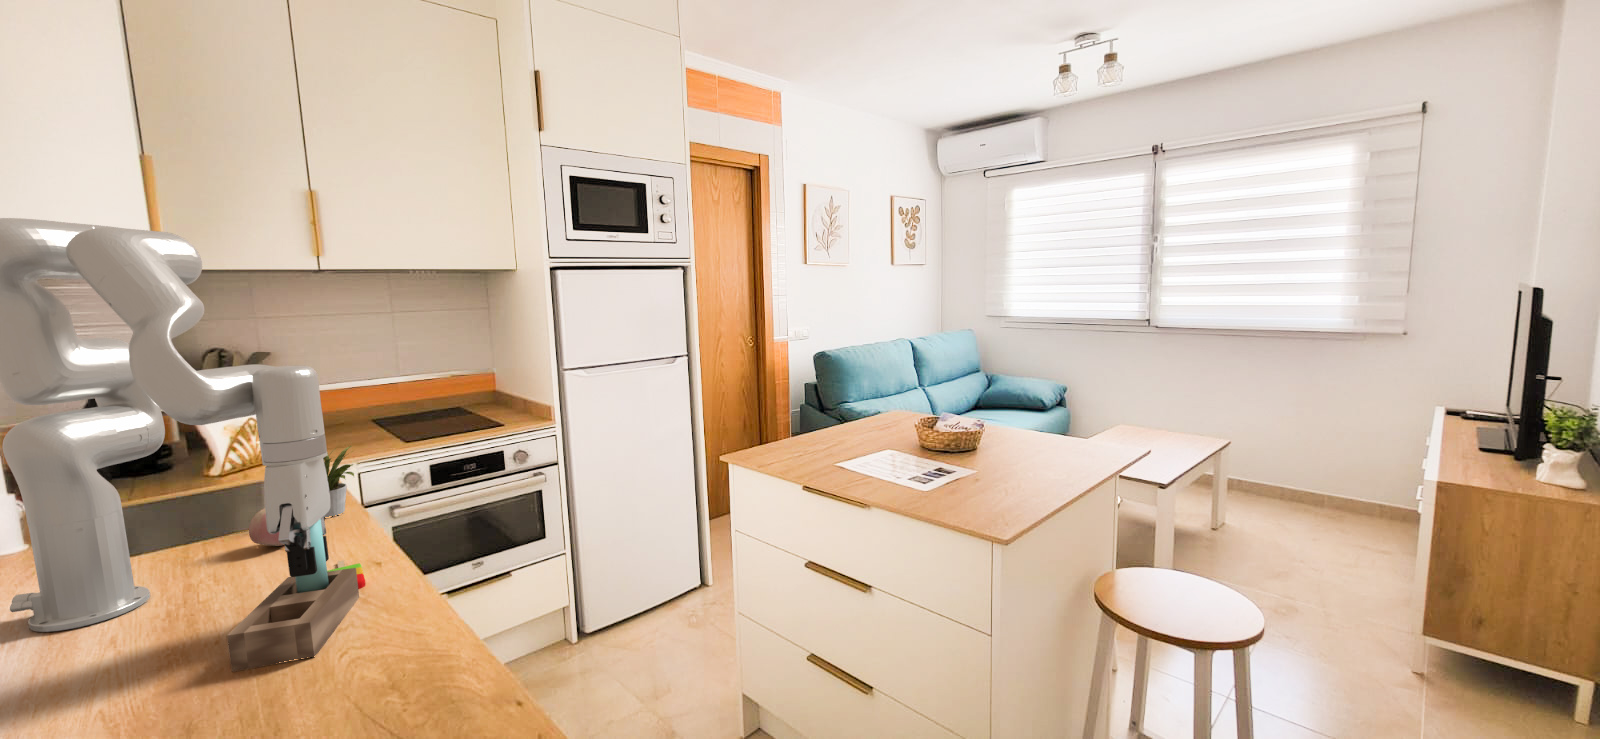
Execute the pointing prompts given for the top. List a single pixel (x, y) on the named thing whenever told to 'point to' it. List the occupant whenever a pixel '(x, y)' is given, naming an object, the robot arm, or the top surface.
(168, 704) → the top surface
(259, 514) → the apple
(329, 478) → the house plant
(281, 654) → the socket block
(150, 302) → the robot arm
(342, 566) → the popsicle
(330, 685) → the top surface
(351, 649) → the top surface
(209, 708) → the top surface
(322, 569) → the dowel
